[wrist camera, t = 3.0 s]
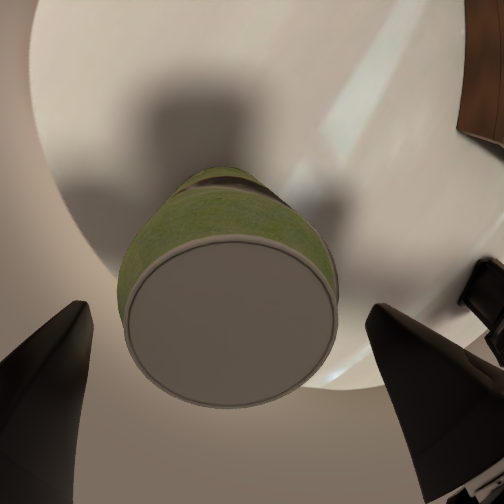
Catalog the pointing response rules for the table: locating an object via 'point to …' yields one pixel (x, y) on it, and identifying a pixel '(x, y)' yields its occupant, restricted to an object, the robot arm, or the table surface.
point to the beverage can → (228, 294)
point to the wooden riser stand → (484, 72)
